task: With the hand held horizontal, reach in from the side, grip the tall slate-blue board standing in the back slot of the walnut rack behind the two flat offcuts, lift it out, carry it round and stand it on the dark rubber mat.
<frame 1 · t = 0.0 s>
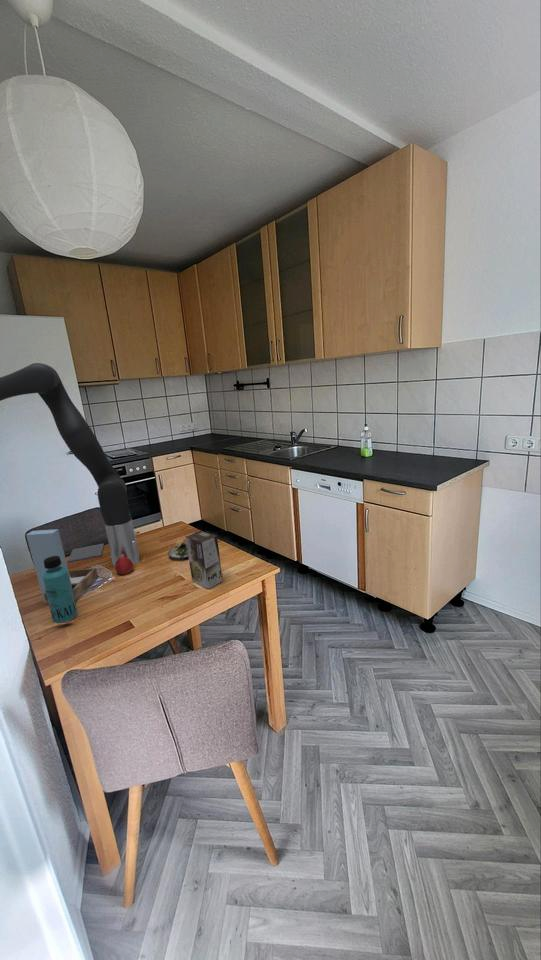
rack: (67, 595, 123), on the table
offcut b: (74, 586, 126), point 1 cm above the table, touching offcut a
offcut a: (76, 591, 127), on the table, touching offcut b
burger: (184, 555, 147), on the table
coffee box: (207, 581, 125), on the table
beverage bottle: (67, 622, 109), on the table
mat: (86, 553, 155), on the table
pomegranate: (126, 576, 134), on the table
board: (60, 603, 119), on the table
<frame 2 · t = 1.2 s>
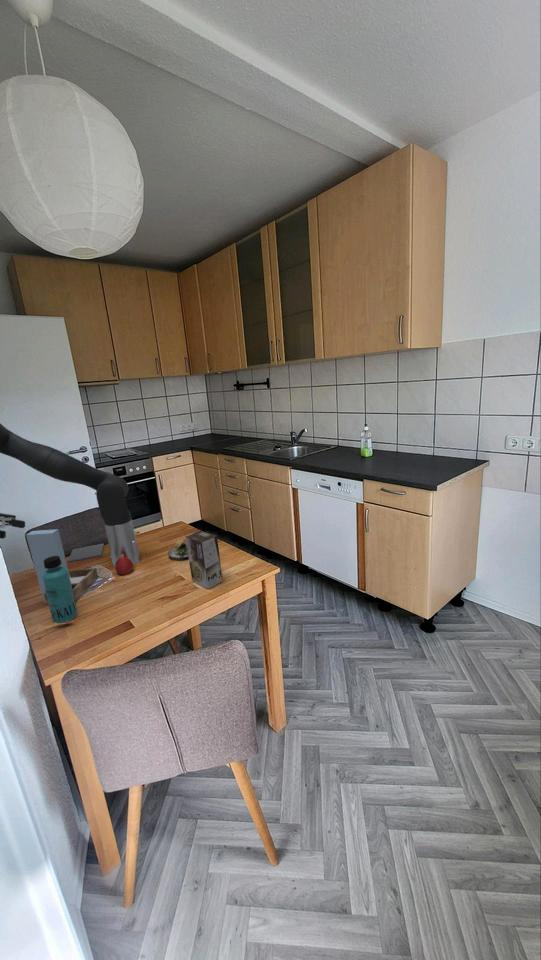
hand: (15, 529, 115), 25 cm above the table, tool horizontal, fingers open, 8 cm apart
nothing on the table moved.
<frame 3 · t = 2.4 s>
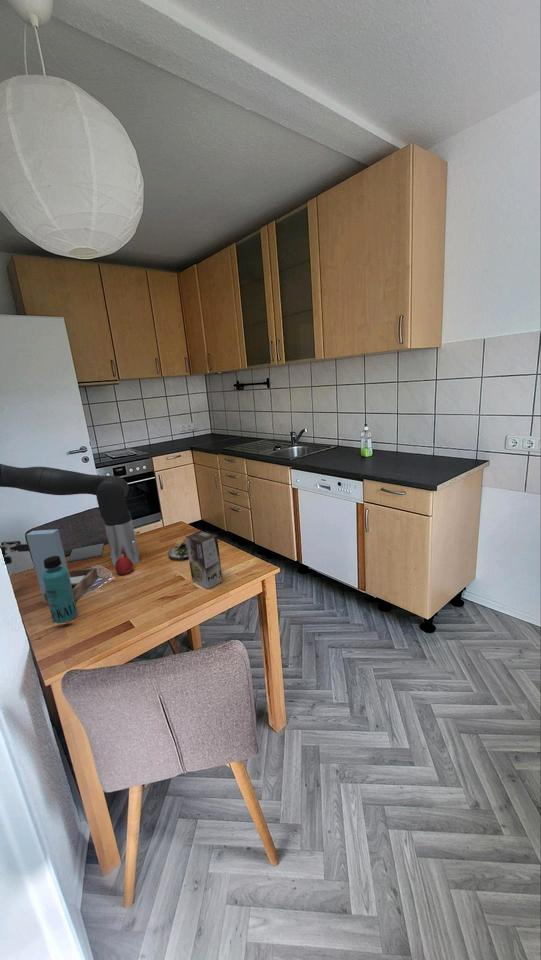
hand: (20, 553, 116), 17 cm above the table, tool horizontal, fingers open, 8 cm apart
offcut b: (74, 585, 126), point 1 cm above the table
offcut a: (76, 591, 127), on the table
everything else where it was.
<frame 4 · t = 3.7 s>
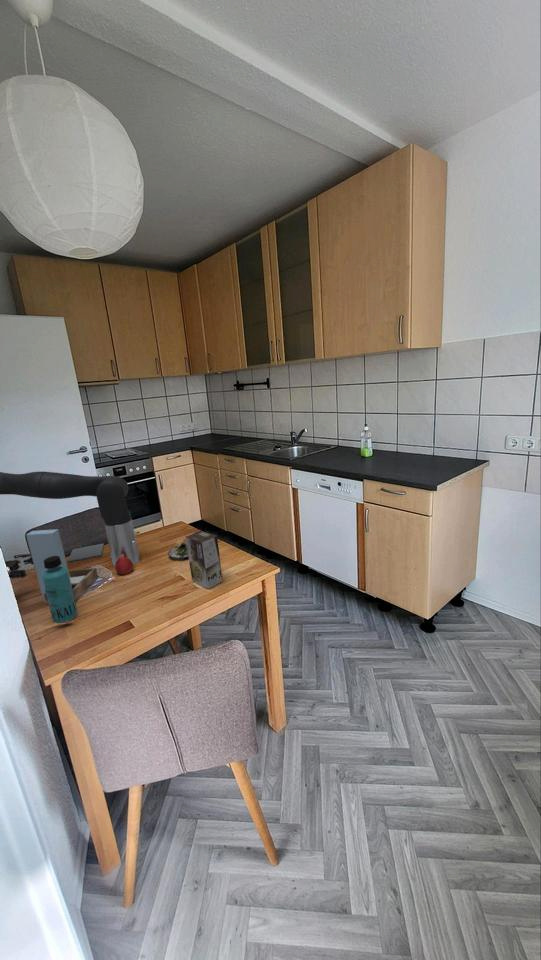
hand: (34, 566, 116), 13 cm above the table, tool horizontal, fingers open, 8 cm apart
offcut b: (75, 585, 127), point 1 cm above the table, touching offcut a
offcut a: (76, 591, 127), on the table, touching offcut b
everything else where it was.
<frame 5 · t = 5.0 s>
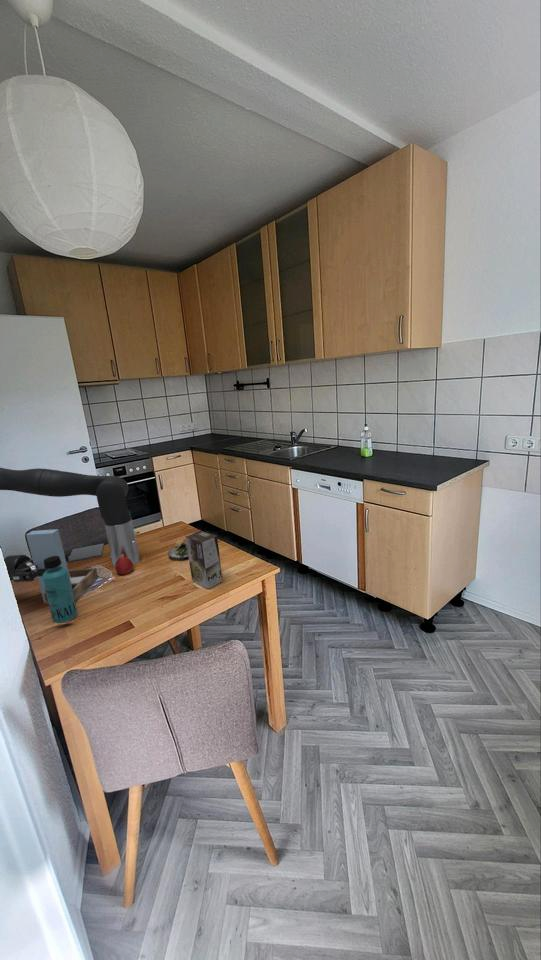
hand: (60, 564, 116), 13 cm above the table, tool horizontal, fingers open, 8 cm apart
nothing on the table moved.
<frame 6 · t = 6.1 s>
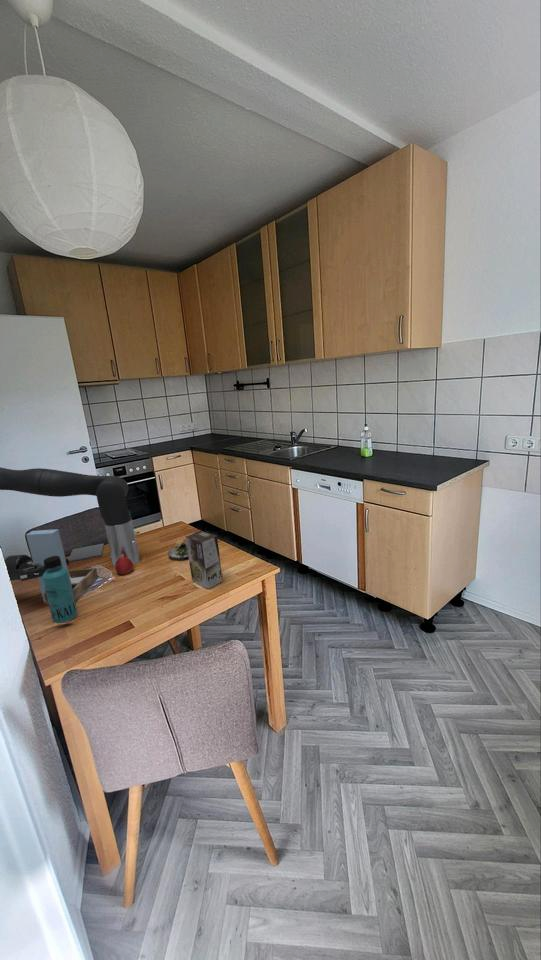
hand: (64, 564, 116), 13 cm above the table, tool horizontal, fingers closed on board, 3 cm apart
board: (60, 603, 119), on the table, touching gripper
everything else where it was.
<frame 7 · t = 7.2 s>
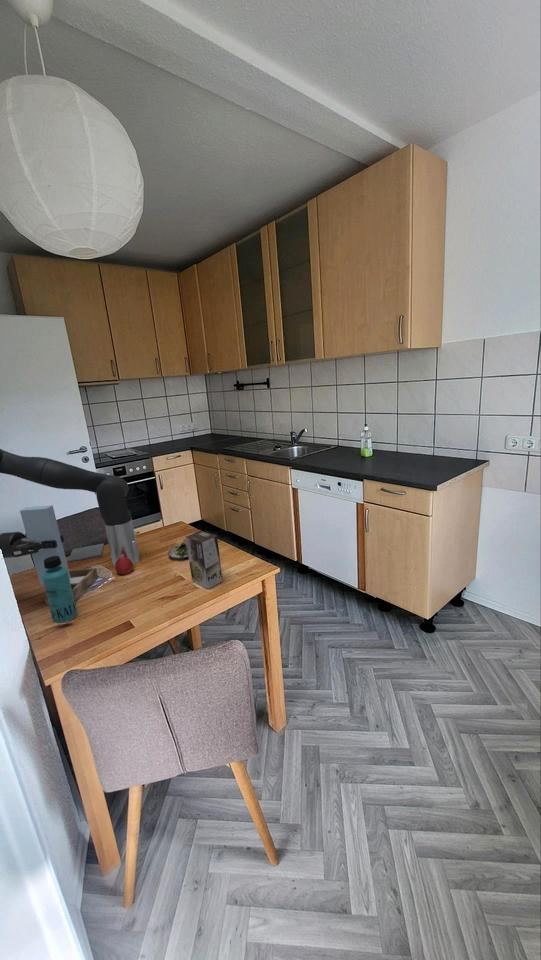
hand: (59, 541, 114), 21 cm above the table, tool horizontal, fingers closed on board, 3 cm apart
offcut b: (74, 586, 126), point 1 cm above the table
offcut a: (76, 591, 127), on the table
board: (55, 581, 117), point 8 cm above the table, touching gripper
everything else where it was.
when the fingers open (14 cm above the table, at t = 15.1 s): board stays where it is, resting on mat.
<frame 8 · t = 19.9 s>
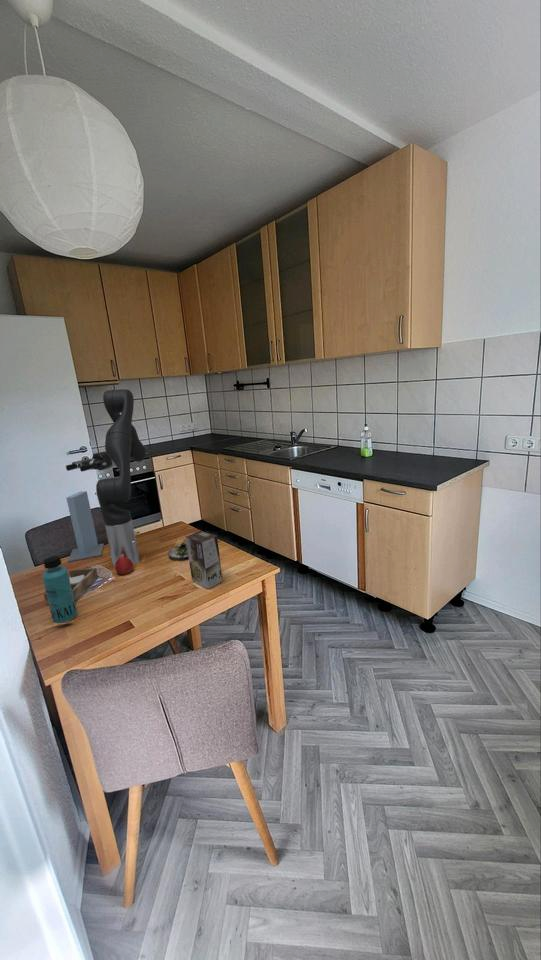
hand: (73, 468, 153), 34 cm above the table, tool horizontal, fingers open, 8 cm apart
board: (89, 550, 156), point 1 cm above the table, touching mat
at the end: board inside the target area (1.5 cm from its centre), point 0.6 cm above the table; board touching mat; board tilted 0° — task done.
